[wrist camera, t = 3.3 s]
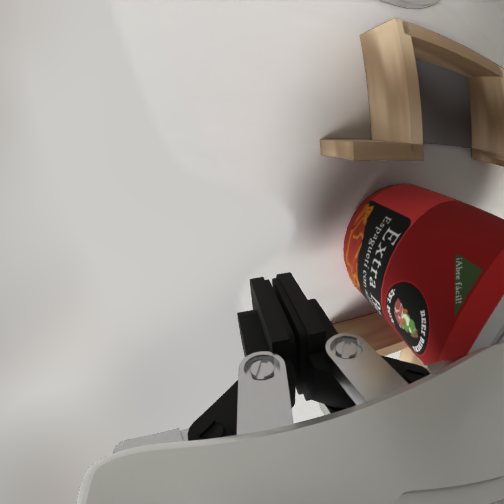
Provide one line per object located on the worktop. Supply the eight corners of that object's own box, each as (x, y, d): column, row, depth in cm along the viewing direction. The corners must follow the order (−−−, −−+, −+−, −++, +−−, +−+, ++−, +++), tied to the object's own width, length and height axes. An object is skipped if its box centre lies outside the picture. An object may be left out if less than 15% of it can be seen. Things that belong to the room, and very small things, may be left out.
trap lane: (307, 28, 11) (334, 3, 8) (516, 94, 13) (542, 97, 10) (315, 391, 21) (329, 422, 18) (486, 320, 23) (503, 336, 20)
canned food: (333, 191, 15) (505, 291, 5) (435, 174, 15) (575, 229, 5) (341, 306, 18) (434, 439, 8) (430, 274, 18) (530, 358, 8)
